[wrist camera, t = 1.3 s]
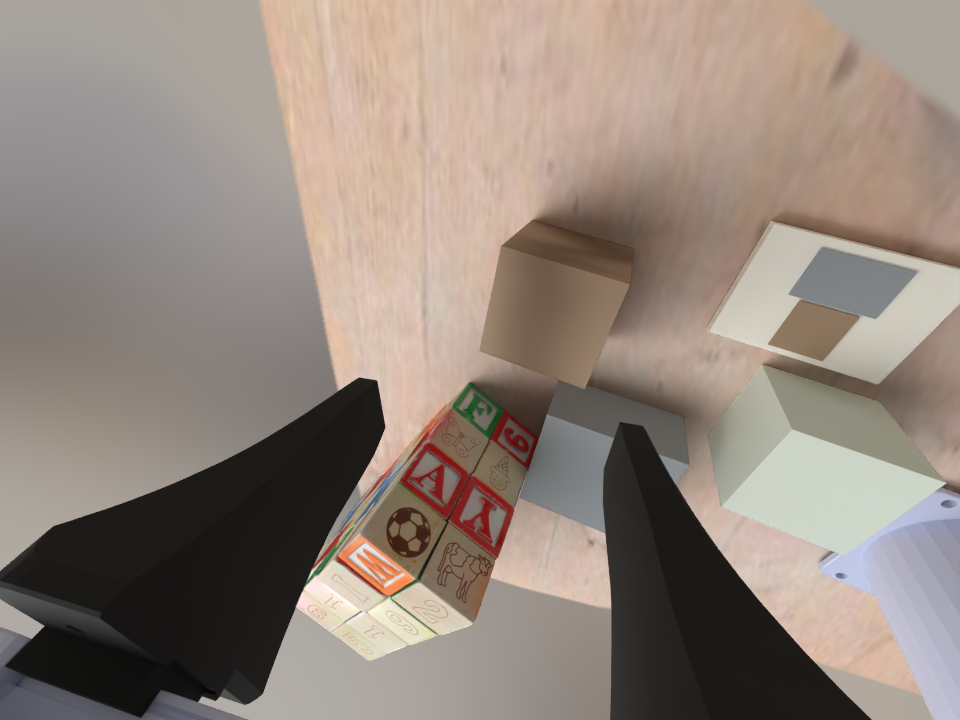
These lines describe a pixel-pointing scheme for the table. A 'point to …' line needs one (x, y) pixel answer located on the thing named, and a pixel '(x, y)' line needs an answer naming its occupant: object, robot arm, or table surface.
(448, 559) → the stack of blocks
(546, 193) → the table surface
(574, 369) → the walnut block
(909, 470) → the sage block
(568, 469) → the slate block
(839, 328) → the card
